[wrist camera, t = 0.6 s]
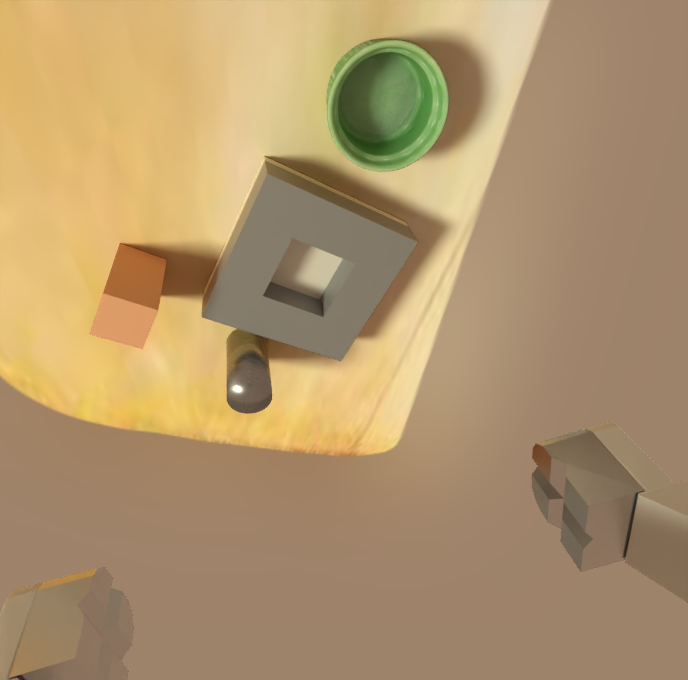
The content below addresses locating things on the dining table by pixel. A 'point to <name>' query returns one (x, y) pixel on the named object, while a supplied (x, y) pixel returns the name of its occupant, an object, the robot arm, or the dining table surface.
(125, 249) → the square bit
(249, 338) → the cylinder
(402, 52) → the ramekin
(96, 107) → the dining table surface
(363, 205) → the holder block
